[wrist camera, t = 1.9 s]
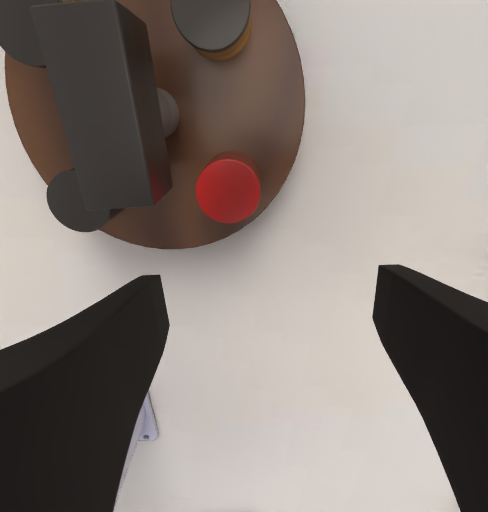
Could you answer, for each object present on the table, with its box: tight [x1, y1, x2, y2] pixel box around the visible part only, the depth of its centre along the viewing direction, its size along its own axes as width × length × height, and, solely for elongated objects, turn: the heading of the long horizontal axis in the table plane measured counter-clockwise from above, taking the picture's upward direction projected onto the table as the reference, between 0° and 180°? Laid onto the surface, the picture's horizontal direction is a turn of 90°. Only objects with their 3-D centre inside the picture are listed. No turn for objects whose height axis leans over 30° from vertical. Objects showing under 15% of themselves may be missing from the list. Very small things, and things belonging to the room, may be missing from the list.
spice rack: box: [0, 0, 305, 249], centre depth 14 cm, size 15×15×8 cm
